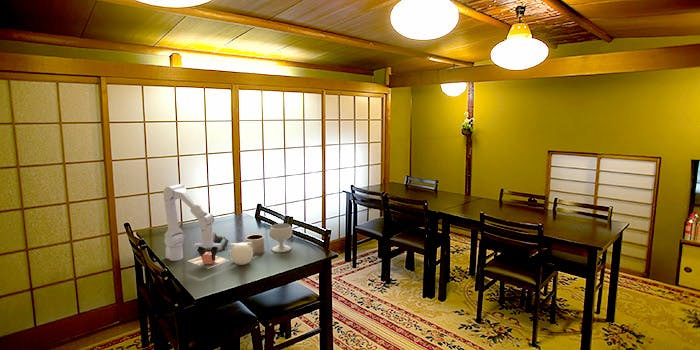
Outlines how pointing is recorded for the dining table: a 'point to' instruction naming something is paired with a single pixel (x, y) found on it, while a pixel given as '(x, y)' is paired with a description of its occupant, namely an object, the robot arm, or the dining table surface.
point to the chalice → (280, 236)
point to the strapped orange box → (207, 258)
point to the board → (200, 262)
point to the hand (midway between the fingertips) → (208, 260)
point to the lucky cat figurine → (220, 242)
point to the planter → (256, 243)
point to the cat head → (241, 253)
